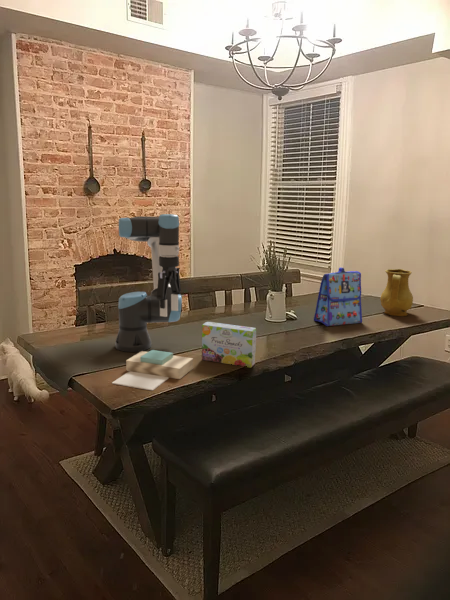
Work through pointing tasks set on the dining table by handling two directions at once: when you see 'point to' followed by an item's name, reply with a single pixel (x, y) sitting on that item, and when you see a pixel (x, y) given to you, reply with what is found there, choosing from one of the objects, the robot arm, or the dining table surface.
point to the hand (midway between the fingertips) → (169, 313)
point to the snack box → (229, 344)
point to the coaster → (156, 357)
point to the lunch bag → (339, 299)
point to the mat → (140, 380)
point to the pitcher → (397, 293)
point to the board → (161, 366)
